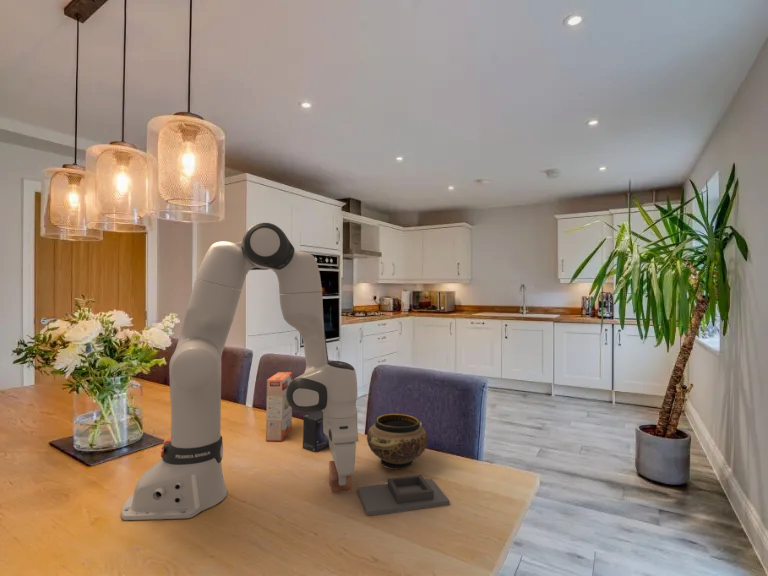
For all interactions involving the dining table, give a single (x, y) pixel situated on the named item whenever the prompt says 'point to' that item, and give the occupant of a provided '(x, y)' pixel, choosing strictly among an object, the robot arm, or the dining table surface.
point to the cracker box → (278, 407)
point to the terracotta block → (334, 480)
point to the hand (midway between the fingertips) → (340, 478)
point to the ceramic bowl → (397, 439)
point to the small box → (314, 432)
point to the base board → (401, 495)
